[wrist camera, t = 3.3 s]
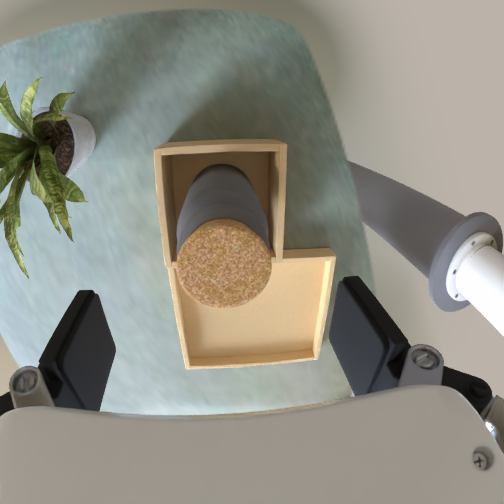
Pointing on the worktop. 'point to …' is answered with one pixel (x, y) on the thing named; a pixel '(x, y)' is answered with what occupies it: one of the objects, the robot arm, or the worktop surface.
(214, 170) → the bottle
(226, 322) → the tray
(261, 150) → the bin
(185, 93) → the worktop surface
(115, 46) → the worktop surface
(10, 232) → the house plant
